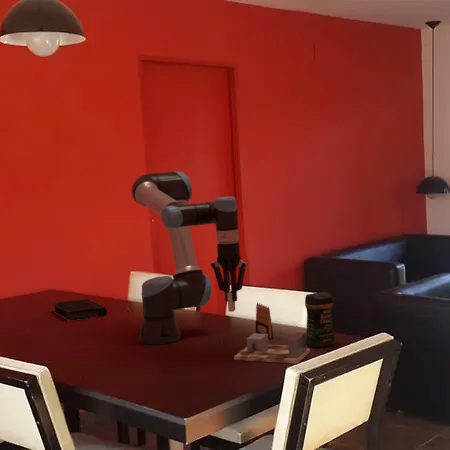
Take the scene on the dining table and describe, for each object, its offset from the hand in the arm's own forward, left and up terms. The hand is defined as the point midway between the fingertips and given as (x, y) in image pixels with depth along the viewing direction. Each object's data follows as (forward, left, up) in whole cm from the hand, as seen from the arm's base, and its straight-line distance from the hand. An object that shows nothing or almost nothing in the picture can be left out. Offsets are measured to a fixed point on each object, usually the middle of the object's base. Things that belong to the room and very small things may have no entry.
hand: (231, 310), depth 252 cm
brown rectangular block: (+23, 0, -14) cm, 27 cm away
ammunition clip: (+2, +25, -15) cm, 30 cm away
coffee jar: (+26, +17, -15) cm, 34 cm away
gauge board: (+14, 0, -15) cm, 20 cm away
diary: (-95, +46, -16) cm, 107 cm away
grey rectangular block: (+9, -2, -14) cm, 16 cm away
